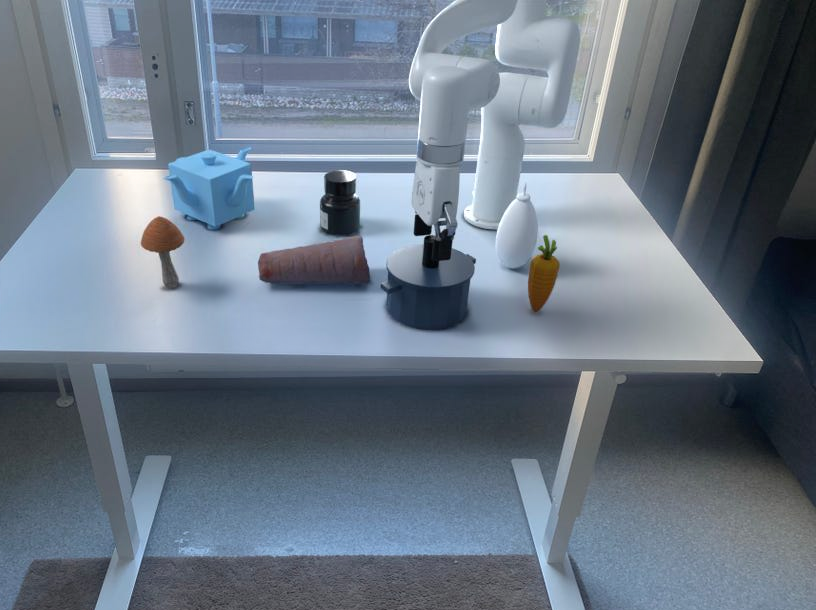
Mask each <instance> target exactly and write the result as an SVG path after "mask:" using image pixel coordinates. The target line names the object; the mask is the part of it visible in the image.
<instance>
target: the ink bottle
mask: <svg viewBox="0 0 816 610" xmlns="http://www.w3.org/2000/svg"><path fill="white" fill-rule="evenodd" d="M323 180H324V181H323V183H324V184H323V187H324V188H323V189H324V194H323V195H322V196H321V198H320V200H319V228H320V229H321V231H322V232H324V233H326V234H329V235H334V236H349V235H352V234H354V233H356V232H358V230H359V229H360V227H361V199H360V197H359V196H358V195H357V194H356V190H357V175H356V173H354V172H352V171H350V170H342V169H337V170H332V171H327V172H326V173H325V174H324V176H323Z"/></svg>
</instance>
